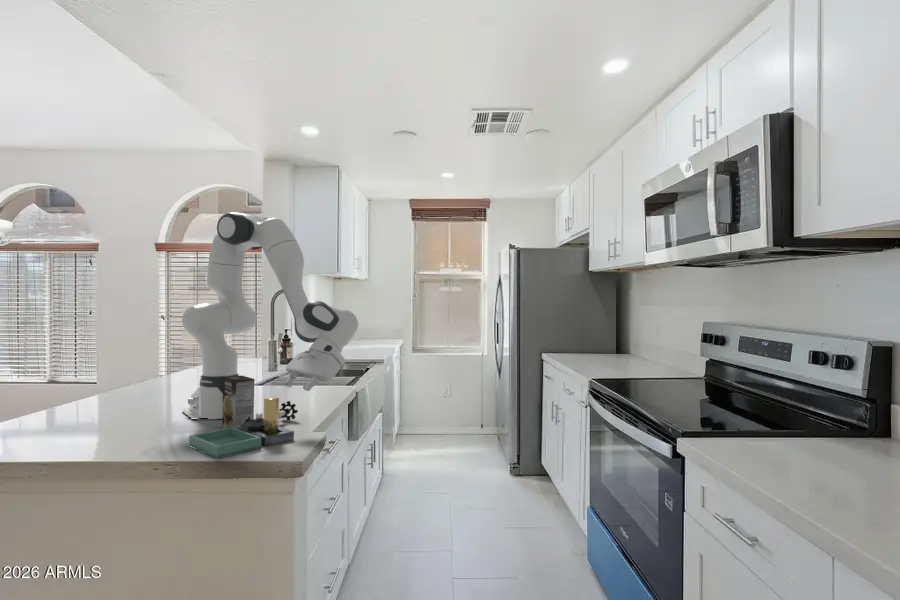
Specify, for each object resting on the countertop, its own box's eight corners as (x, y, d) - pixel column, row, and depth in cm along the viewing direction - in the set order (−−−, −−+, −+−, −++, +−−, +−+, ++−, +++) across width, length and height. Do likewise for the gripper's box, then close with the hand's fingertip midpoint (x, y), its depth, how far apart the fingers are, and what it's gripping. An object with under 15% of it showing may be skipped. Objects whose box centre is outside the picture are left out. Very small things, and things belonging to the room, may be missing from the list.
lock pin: (260, 440, 142) (261, 398, 142) (273, 437, 145) (274, 396, 145) (268, 443, 139) (269, 400, 139) (281, 440, 142) (281, 398, 142)
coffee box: (221, 428, 155) (221, 376, 155) (241, 424, 160) (242, 374, 160) (233, 433, 149) (234, 380, 149) (254, 429, 153) (255, 377, 153)
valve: (276, 430, 154) (297, 421, 165) (276, 408, 154) (297, 401, 165) (257, 428, 155) (280, 419, 167) (258, 407, 155) (280, 400, 167)
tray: (189, 446, 135) (189, 435, 135) (231, 437, 144) (232, 427, 144) (217, 458, 125) (217, 447, 125) (261, 448, 134) (261, 437, 134)
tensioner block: (237, 436, 145) (237, 414, 145) (265, 430, 152) (265, 409, 152) (265, 446, 136) (265, 423, 136) (293, 439, 143) (294, 417, 143)
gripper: (298, 344, 161) (270, 377, 153) (338, 348, 148) (310, 385, 140) (309, 356, 164) (283, 390, 157) (349, 362, 152) (322, 398, 144)
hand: (296, 387), depth 148 cm, fingers open, 8 cm apart
